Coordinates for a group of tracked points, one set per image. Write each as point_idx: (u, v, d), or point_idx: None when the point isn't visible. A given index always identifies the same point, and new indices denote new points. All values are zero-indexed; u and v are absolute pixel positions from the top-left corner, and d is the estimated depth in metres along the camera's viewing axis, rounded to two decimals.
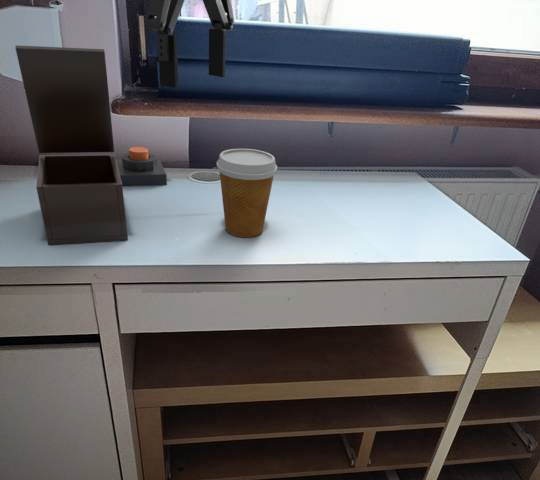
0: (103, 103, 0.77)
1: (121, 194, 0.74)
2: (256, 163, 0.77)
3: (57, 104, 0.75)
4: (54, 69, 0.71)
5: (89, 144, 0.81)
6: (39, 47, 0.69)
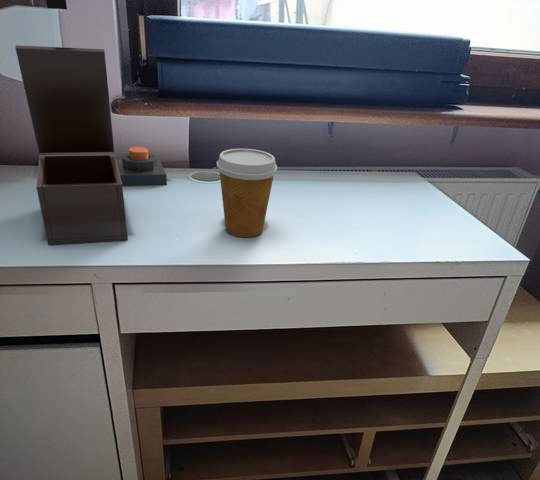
0: (103, 103, 0.77)
1: (121, 194, 0.74)
2: (256, 163, 0.77)
3: (57, 104, 0.75)
4: (54, 69, 0.71)
5: (89, 144, 0.81)
6: (39, 47, 0.69)
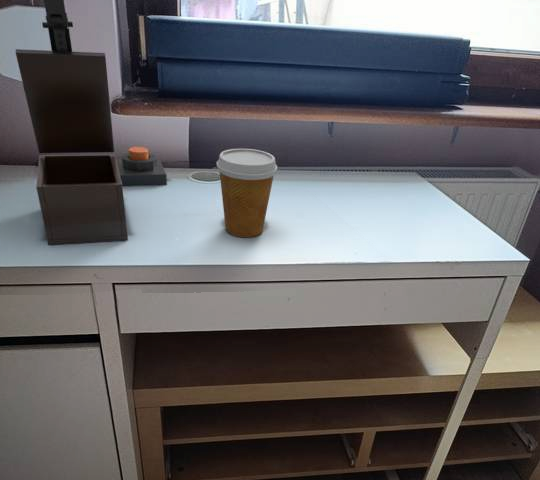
0: (103, 105, 0.77)
1: (121, 194, 0.74)
2: (256, 163, 0.77)
3: (57, 106, 0.75)
4: (54, 73, 0.71)
5: (89, 145, 0.81)
6: (39, 51, 0.69)
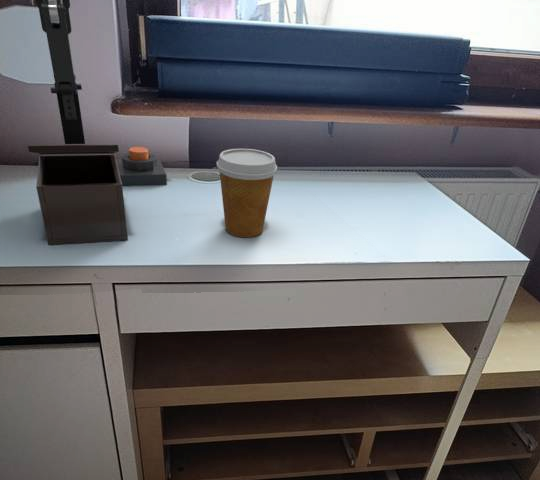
0: None
1: (121, 194, 0.74)
2: (256, 163, 0.77)
3: (64, 153, 0.75)
4: None
5: None
6: (52, 148, 0.68)
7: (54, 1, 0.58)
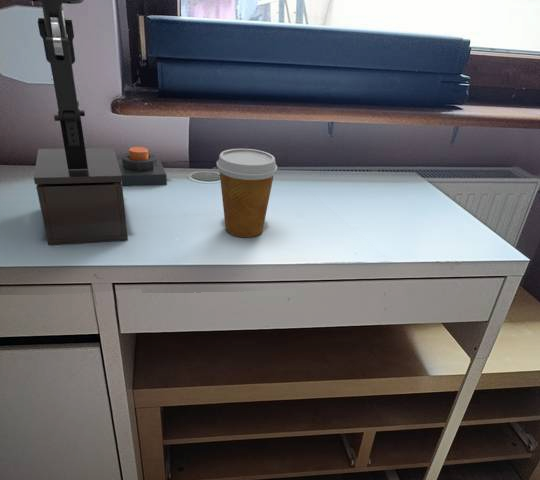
0: None
1: (121, 194, 0.74)
2: (256, 163, 0.77)
3: None
4: None
5: None
6: (57, 180, 0.70)
7: (58, 34, 0.59)
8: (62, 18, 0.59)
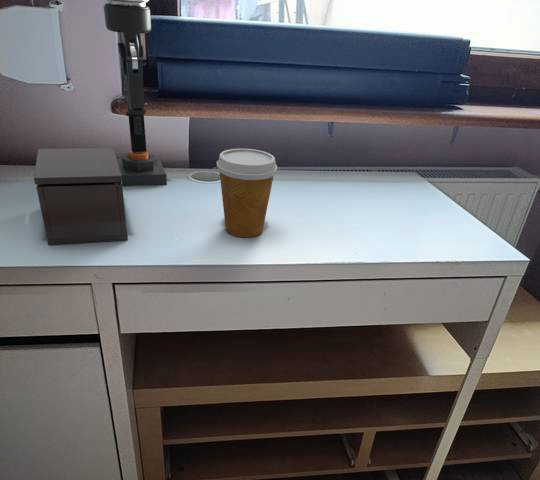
0: None
1: (121, 194, 0.74)
2: (256, 163, 0.77)
3: None
4: None
5: None
6: (57, 180, 0.70)
7: (135, 55, 0.84)
8: (137, 43, 0.84)
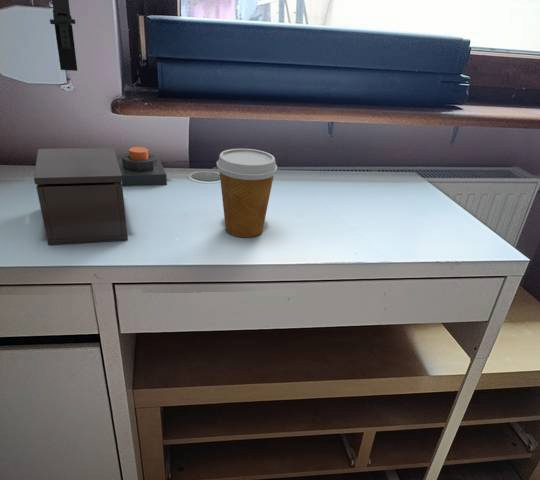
0: None
1: (121, 194, 0.74)
2: (256, 163, 0.77)
3: None
4: None
5: None
6: (57, 180, 0.70)
7: None
8: None
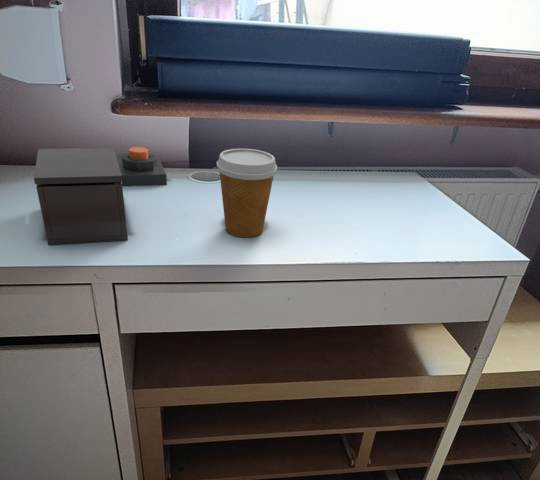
0: None
1: (121, 194, 0.74)
2: (256, 163, 0.77)
3: None
4: None
5: None
6: (57, 180, 0.70)
7: None
8: None
